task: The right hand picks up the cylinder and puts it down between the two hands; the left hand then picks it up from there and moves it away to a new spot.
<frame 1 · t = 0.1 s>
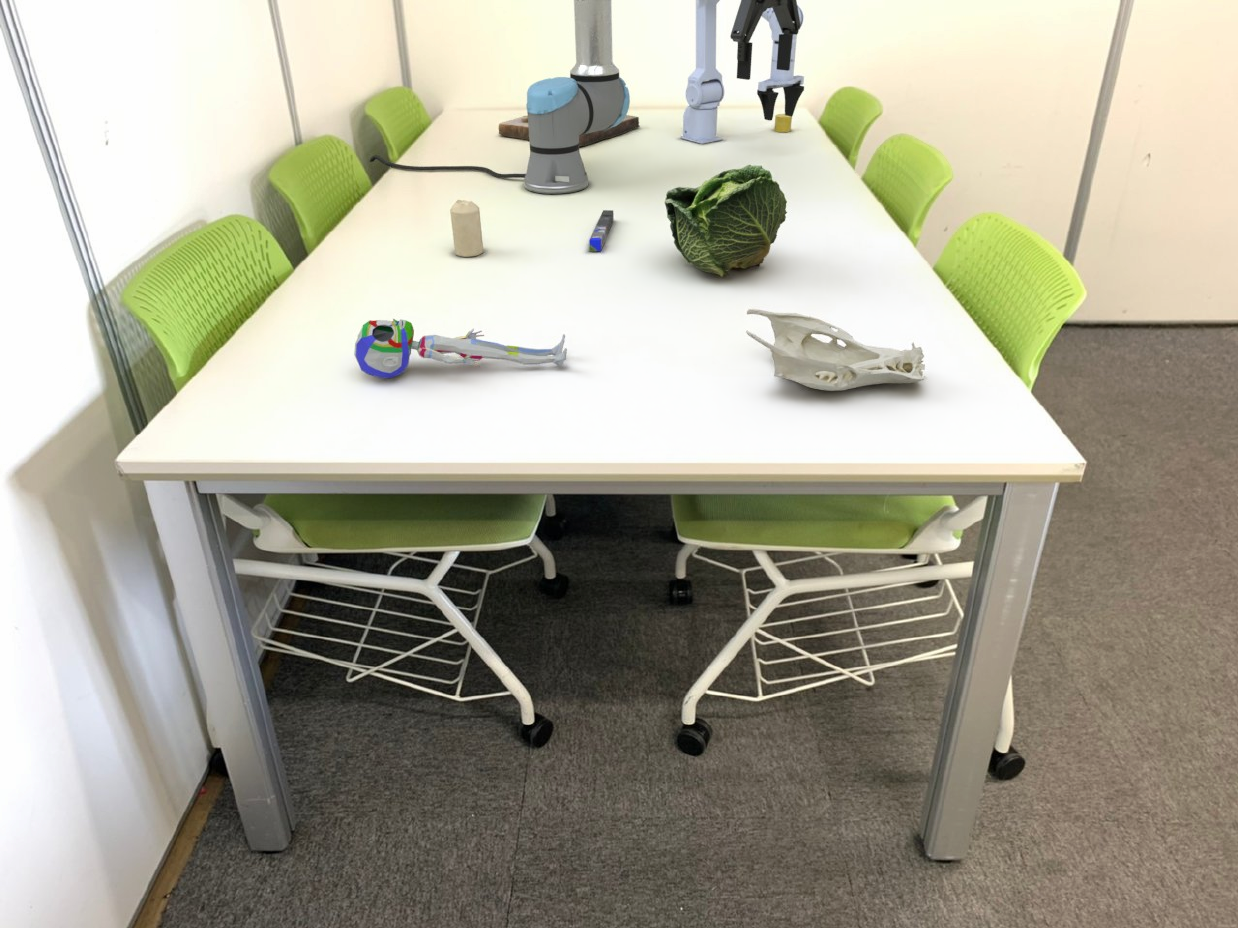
left hand: (763, 74, 179), 28 cm above the table, tool pointing down, fingers open, 13 cm apart
right hand: (778, 117, 230), 10 cm above the table, tool pointing down, fingers open, 7 cm apart
vegetable: (723, 269, 166), on the table
anatomical model: (831, 381, 127), on the table
toy: (464, 369, 132), on the table
pillar: (602, 236, 183), on the table
plaque: (570, 132, 264), on the table
candle: (469, 253, 175), on the table
cylinder: (782, 130, 262), on the table
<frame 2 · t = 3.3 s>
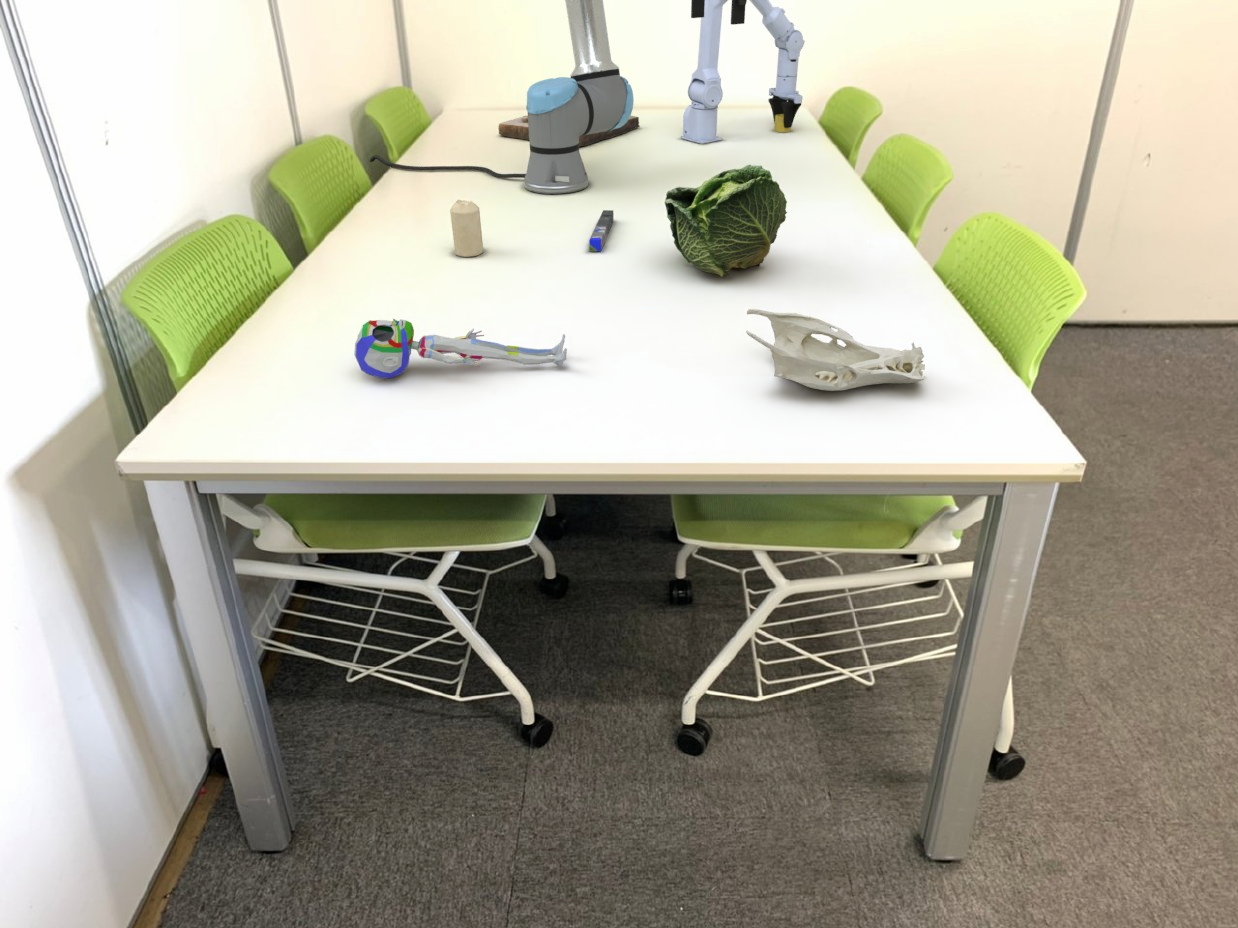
left hand: (717, 21, 177), 37 cm above the table, tool pointing down, fingers open, 13 cm apart
right hand: (782, 125, 261), 1 cm above the table, tool pointing down, fingers closed on cylinder, 5 cm apart
cylinder: (782, 130, 262), on the table, touching right hand
everything else where it was.
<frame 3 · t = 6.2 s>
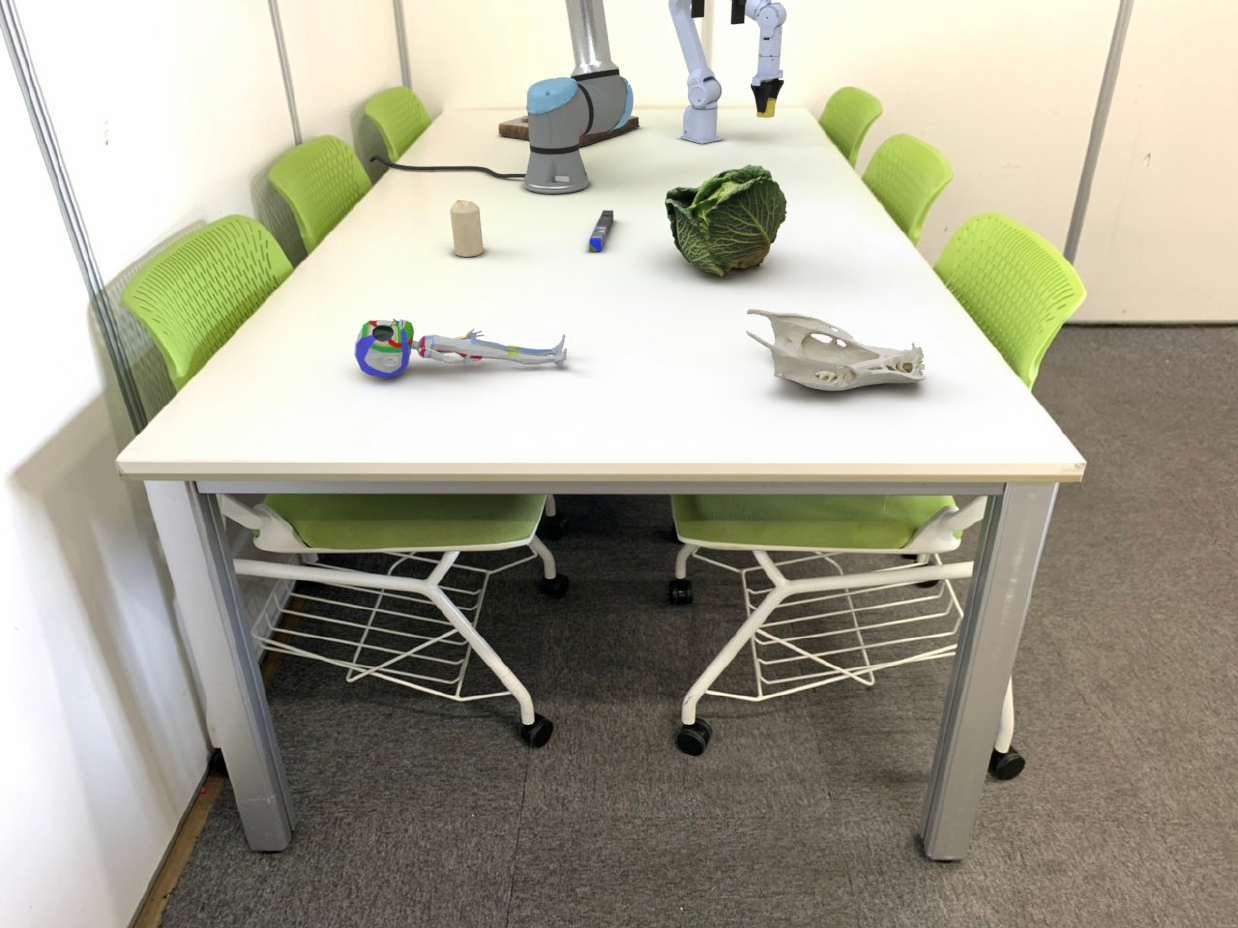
left hand: (717, 21, 177), 37 cm above the table, tool pointing down, fingers open, 13 cm apart
right hand: (765, 110, 241), 9 cm above the table, tool pointing down, fingers closed on cylinder, 5 cm apart
cylinder: (765, 116, 242), point 8 cm above the table, touching right hand
everything else where it was.
when the right hand's fingers open (2 cm above the table, at t = 9.0 s): cylinder stays where it is, on the table.
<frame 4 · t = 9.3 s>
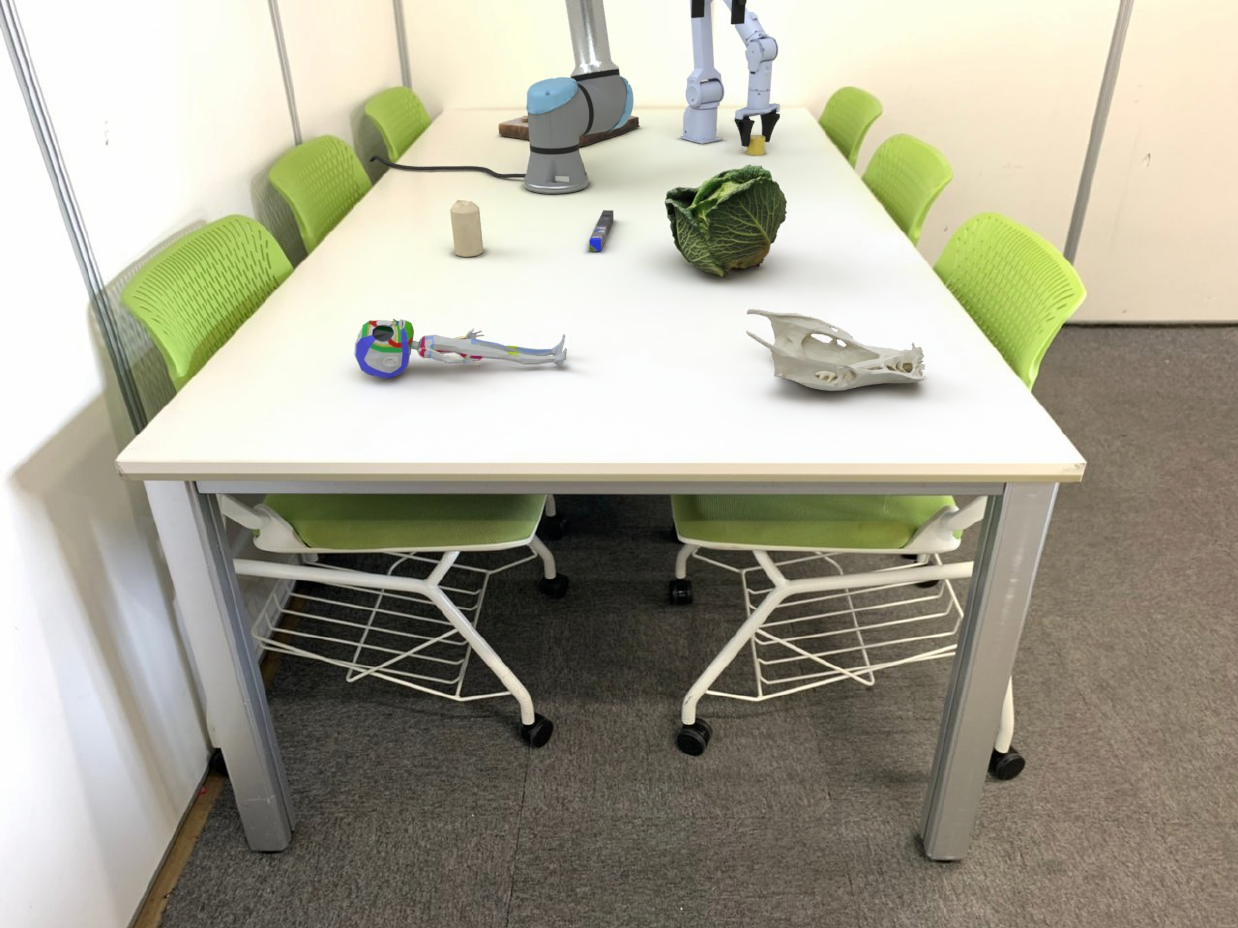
left hand: (717, 21, 177), 37 cm above the table, tool pointing down, fingers open, 13 cm apart
right hand: (755, 144, 239), 2 cm above the table, tool pointing down, fingers open, 7 cm apart
cylinder: (755, 153, 240), on the table
everything else where it was.
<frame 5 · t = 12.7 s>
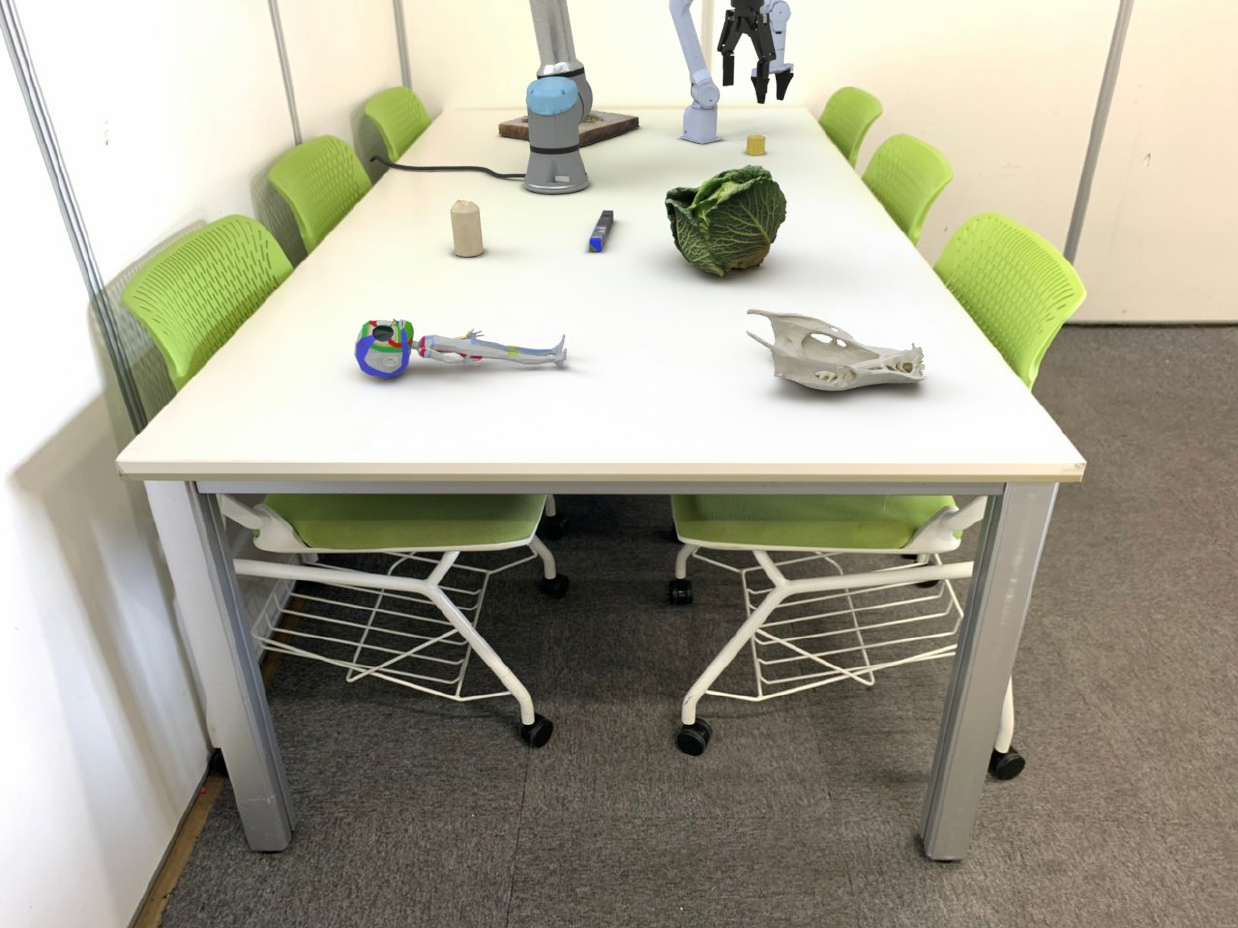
left hand: (744, 90, 209), 20 cm above the table, tool pointing down, fingers open, 13 cm apart
right hand: (770, 101, 251), 9 cm above the table, tool pointing down, fingers open, 7 cm apart
nothing on the table moved.
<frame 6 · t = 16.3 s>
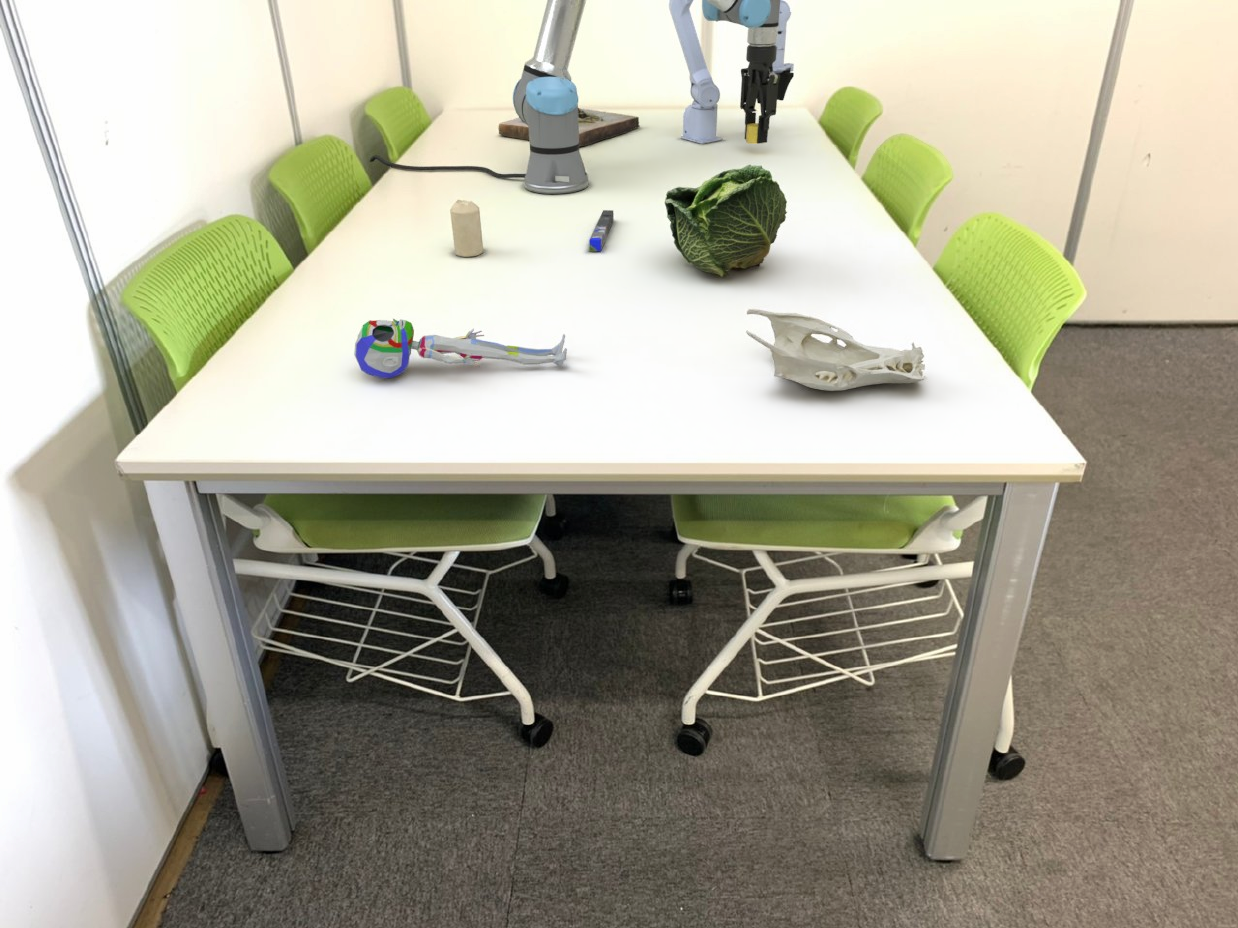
left hand: (755, 140, 238), 3 cm above the table, tool pointing down, fingers closed on cylinder, 5 cm apart
right hand: (770, 101, 251), 9 cm above the table, tool pointing down, fingers open, 7 cm apart
cylinder: (754, 142, 238), point 3 cm above the table, touching left hand
everything else where it was.
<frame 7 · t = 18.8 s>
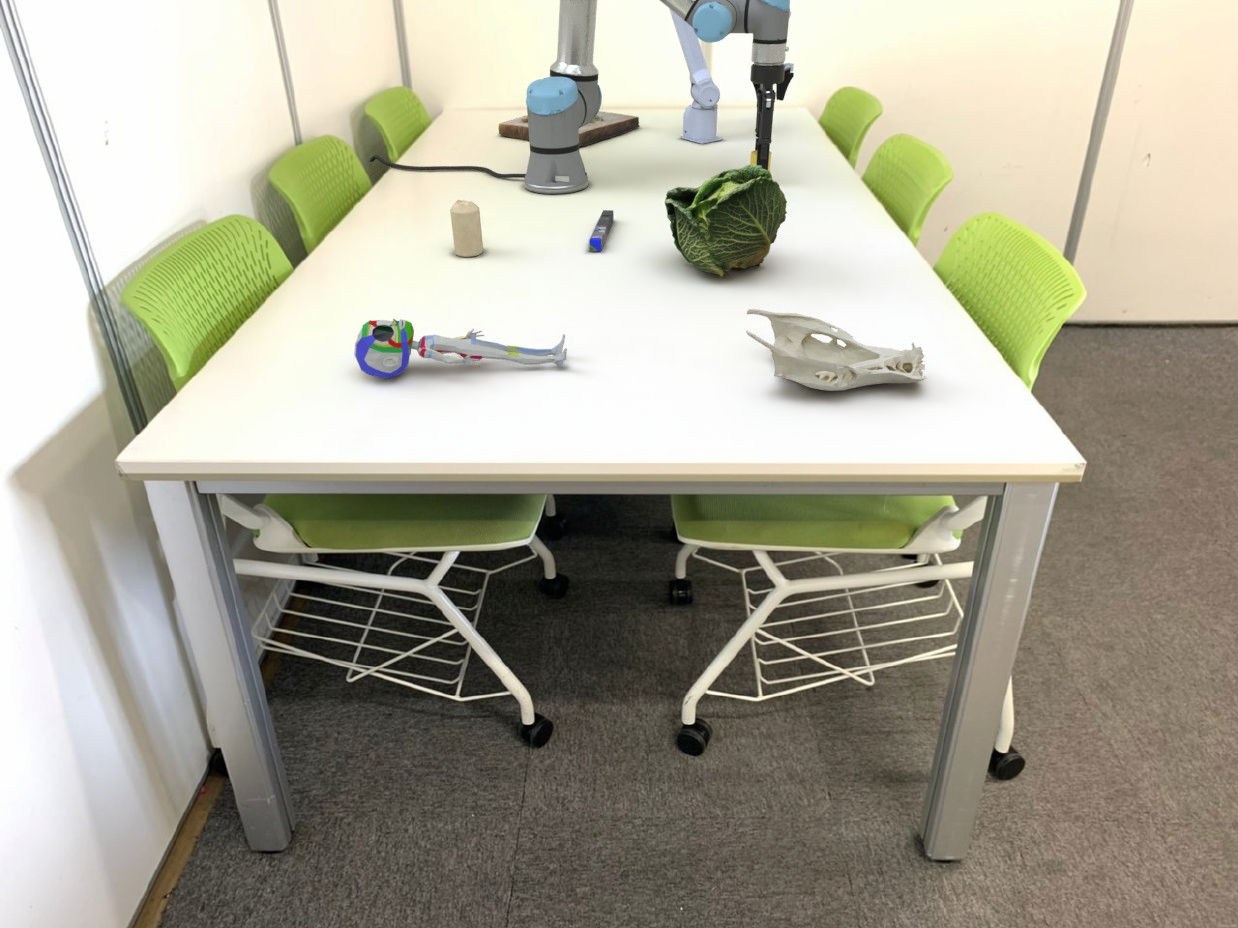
left hand: (760, 169, 213), 3 cm above the table, tool pointing down, fingers closed on cylinder, 5 cm apart
right hand: (770, 101, 251), 9 cm above the table, tool pointing down, fingers open, 7 cm apart
cylinder: (759, 170, 213), point 3 cm above the table, touching left hand
everything else where it was.
when the left hand's fingers open (0 cm above the table, at t = 21.8 s): cylinder stays where it is, on the table.
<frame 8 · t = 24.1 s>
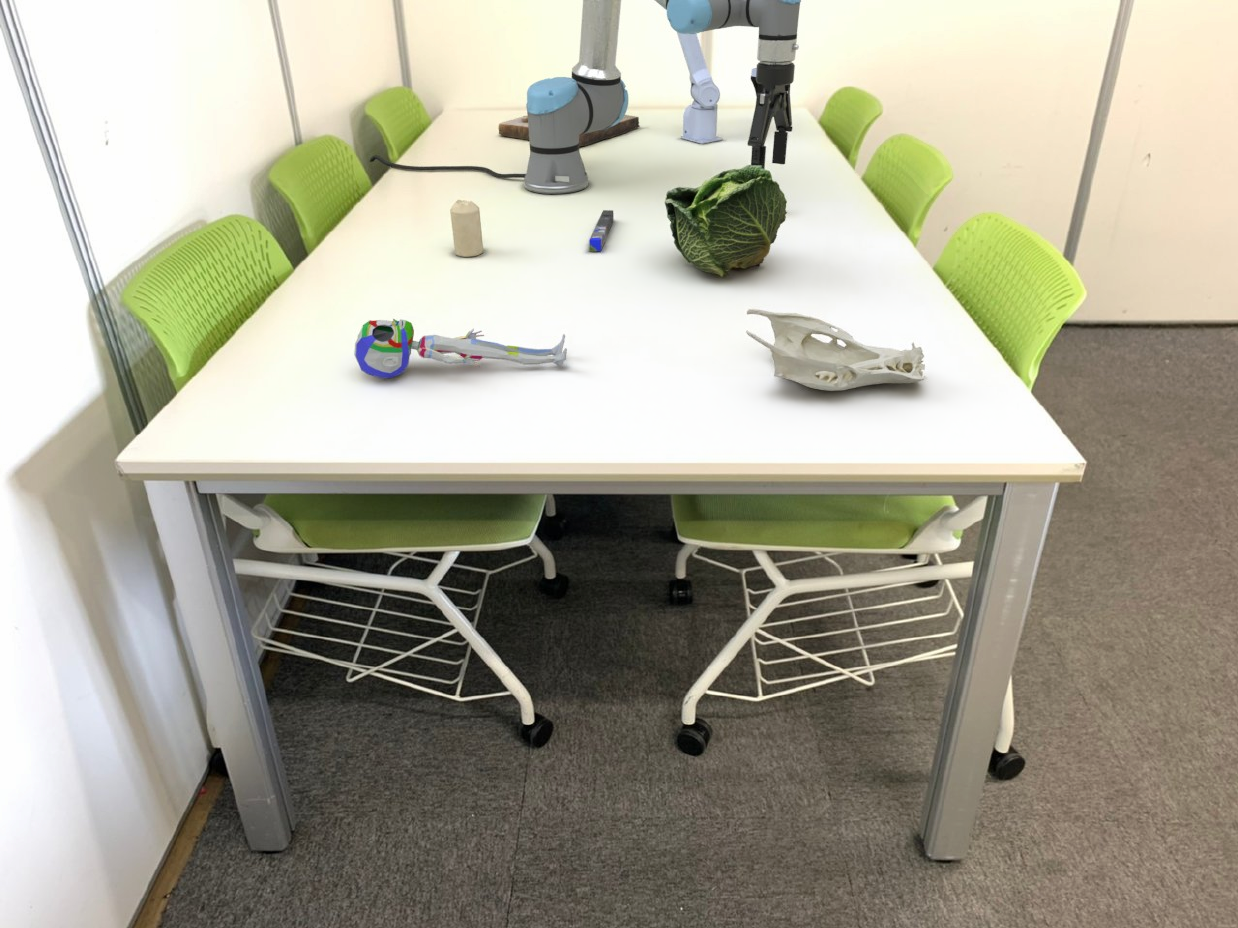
left hand: (768, 171, 190), 9 cm above the table, tool pointing down, fingers open, 13 cm apart
right hand: (770, 101, 251), 9 cm above the table, tool pointing down, fingers open, 7 cm apart
cylinder: (764, 213, 194), on the table
everything else where it was.
at the end: cylinder inside the target area (0.1 cm from its centre), on the table; cylinder tilted 0°; the two hands never held the cylinder at the same time; the left hand is holding nothing; the right hand is holding nothing; cylinder at rest at the end (0.0 cm/s) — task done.
